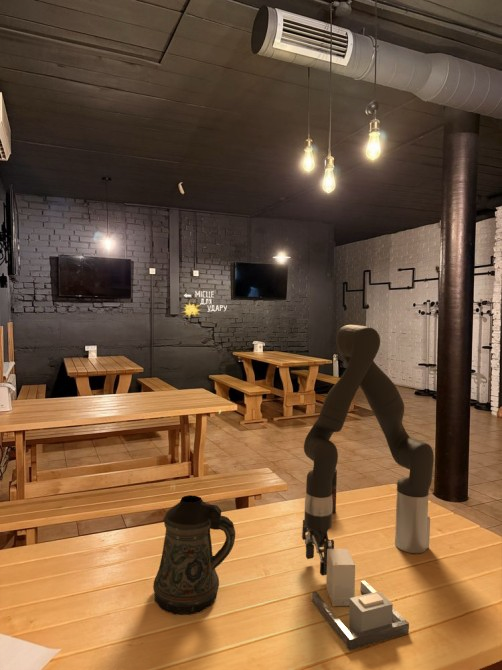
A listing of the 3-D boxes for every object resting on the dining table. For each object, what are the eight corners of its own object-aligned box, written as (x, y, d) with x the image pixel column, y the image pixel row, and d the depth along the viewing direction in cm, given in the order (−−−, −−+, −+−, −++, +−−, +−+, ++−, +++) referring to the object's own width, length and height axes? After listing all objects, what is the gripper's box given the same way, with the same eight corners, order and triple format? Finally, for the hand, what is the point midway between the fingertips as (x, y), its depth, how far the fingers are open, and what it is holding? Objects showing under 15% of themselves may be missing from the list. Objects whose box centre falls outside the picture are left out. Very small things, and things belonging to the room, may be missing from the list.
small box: (354, 606, 112) (355, 565, 112) (331, 606, 112) (333, 565, 111) (347, 586, 120) (348, 548, 120) (325, 586, 120) (326, 547, 119)
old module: (378, 619, 108) (379, 588, 107) (391, 634, 103) (392, 601, 102) (348, 627, 105) (349, 595, 104) (361, 642, 100) (362, 609, 100)
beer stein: (147, 583, 120) (147, 490, 119) (217, 568, 128) (218, 480, 126) (161, 624, 105) (161, 518, 104) (239, 603, 113) (241, 504, 111)
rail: (364, 589, 119) (364, 580, 119) (408, 633, 103) (408, 623, 103) (311, 601, 114) (311, 592, 114) (349, 650, 98) (350, 639, 98)
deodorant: (336, 508, 167) (338, 468, 166) (334, 515, 162) (335, 473, 161) (320, 506, 169) (321, 466, 168) (317, 512, 164) (318, 471, 163)
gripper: (343, 518, 120) (341, 578, 121) (318, 497, 134) (316, 550, 135) (318, 522, 118) (316, 583, 119) (295, 500, 131) (293, 554, 132)
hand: (316, 565), depth 127 cm, fingers open, 8 cm apart
